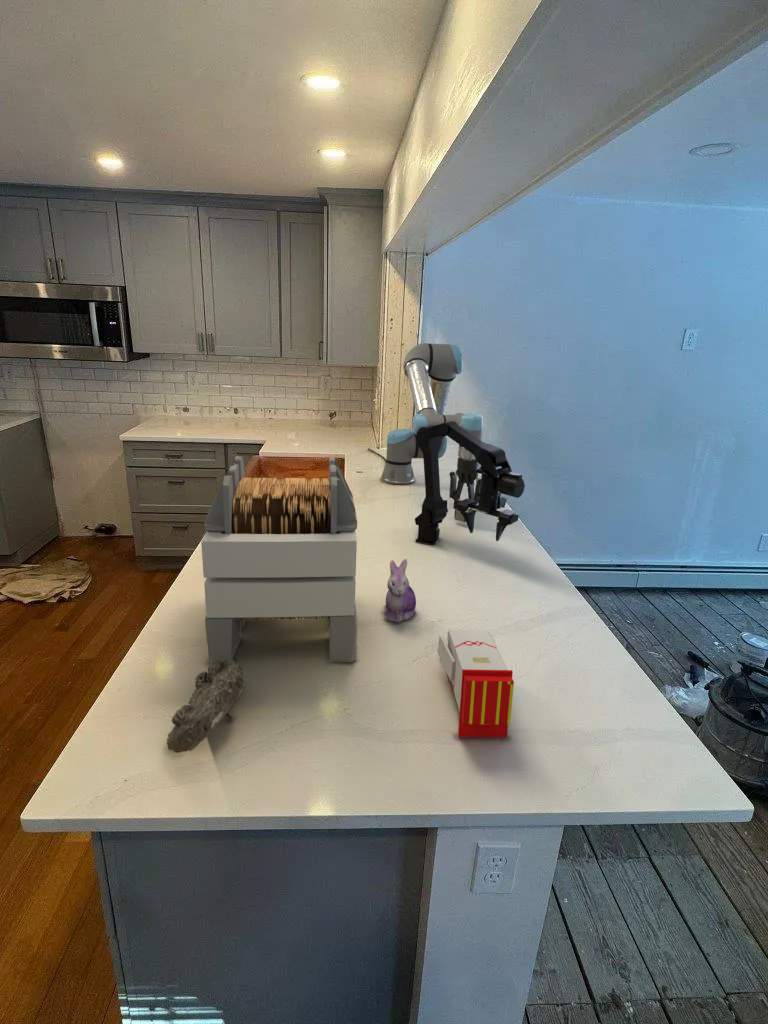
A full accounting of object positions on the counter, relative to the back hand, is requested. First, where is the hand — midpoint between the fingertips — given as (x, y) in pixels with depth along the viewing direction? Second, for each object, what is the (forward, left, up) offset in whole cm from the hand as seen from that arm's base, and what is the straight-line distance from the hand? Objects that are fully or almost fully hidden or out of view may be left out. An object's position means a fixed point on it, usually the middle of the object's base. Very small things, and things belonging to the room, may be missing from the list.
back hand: (462, 519), depth 210 cm
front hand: (+31, -10, +6) cm, 33 cm away
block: (0, 0, 0) cm, 0 cm away
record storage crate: (+49, -77, -2) cm, 91 cm away
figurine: (+53, -49, -2) cm, 72 cm away
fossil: (+77, -98, -2) cm, 125 cm away
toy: (+86, -47, -2) cm, 99 cm away
